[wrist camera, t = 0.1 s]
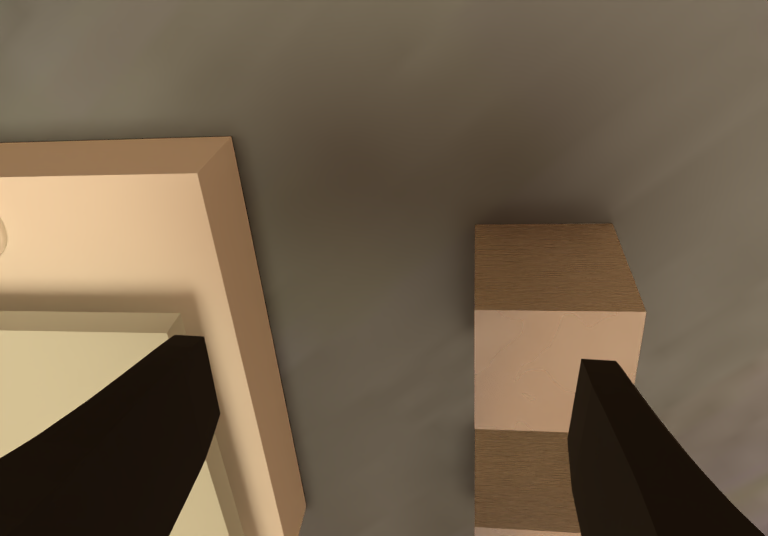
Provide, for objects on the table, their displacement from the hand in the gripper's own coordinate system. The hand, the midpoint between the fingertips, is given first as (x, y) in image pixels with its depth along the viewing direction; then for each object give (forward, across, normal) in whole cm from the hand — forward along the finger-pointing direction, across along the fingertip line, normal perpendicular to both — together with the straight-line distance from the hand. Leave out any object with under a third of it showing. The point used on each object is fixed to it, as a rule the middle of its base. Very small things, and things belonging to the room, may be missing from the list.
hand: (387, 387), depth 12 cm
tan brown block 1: (+10, -4, +4) cm, 11 cm away
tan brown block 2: (+10, -4, +13) cm, 17 cm away
